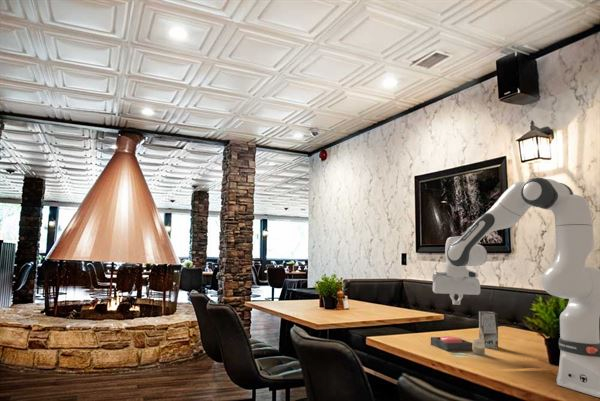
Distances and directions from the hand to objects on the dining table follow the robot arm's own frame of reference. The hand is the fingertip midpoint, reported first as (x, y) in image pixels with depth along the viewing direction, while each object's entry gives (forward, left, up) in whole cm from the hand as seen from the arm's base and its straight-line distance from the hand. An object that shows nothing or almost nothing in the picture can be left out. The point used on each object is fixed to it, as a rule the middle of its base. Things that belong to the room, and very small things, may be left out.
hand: (456, 304), depth 183 cm
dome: (+3, +1, -19) cm, 19 cm away
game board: (-3, +1, -20) cm, 20 cm away
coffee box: (+5, -20, -20) cm, 29 cm away
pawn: (-10, -4, -19) cm, 22 cm away
